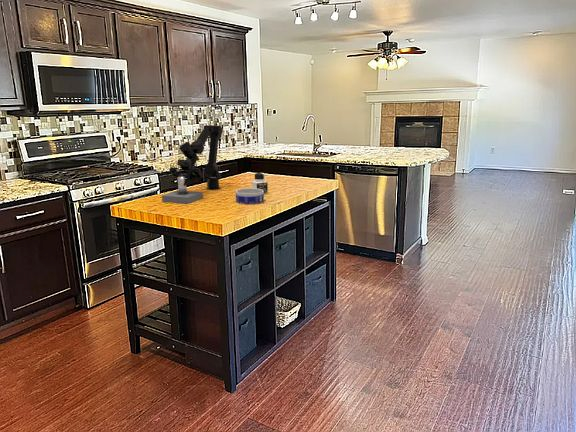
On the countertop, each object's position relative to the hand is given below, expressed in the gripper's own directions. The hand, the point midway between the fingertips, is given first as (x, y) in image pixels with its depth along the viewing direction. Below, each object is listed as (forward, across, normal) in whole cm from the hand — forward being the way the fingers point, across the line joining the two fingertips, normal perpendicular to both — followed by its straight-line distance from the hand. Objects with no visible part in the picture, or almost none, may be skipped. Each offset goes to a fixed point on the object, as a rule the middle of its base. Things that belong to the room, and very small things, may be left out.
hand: (180, 185), depth 243 cm
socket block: (+5, 0, +7) cm, 9 cm away
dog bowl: (-1, +37, +14) cm, 39 cm away
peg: (+4, 0, +6) cm, 7 cm away
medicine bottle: (-16, +33, +29) cm, 47 cm away
